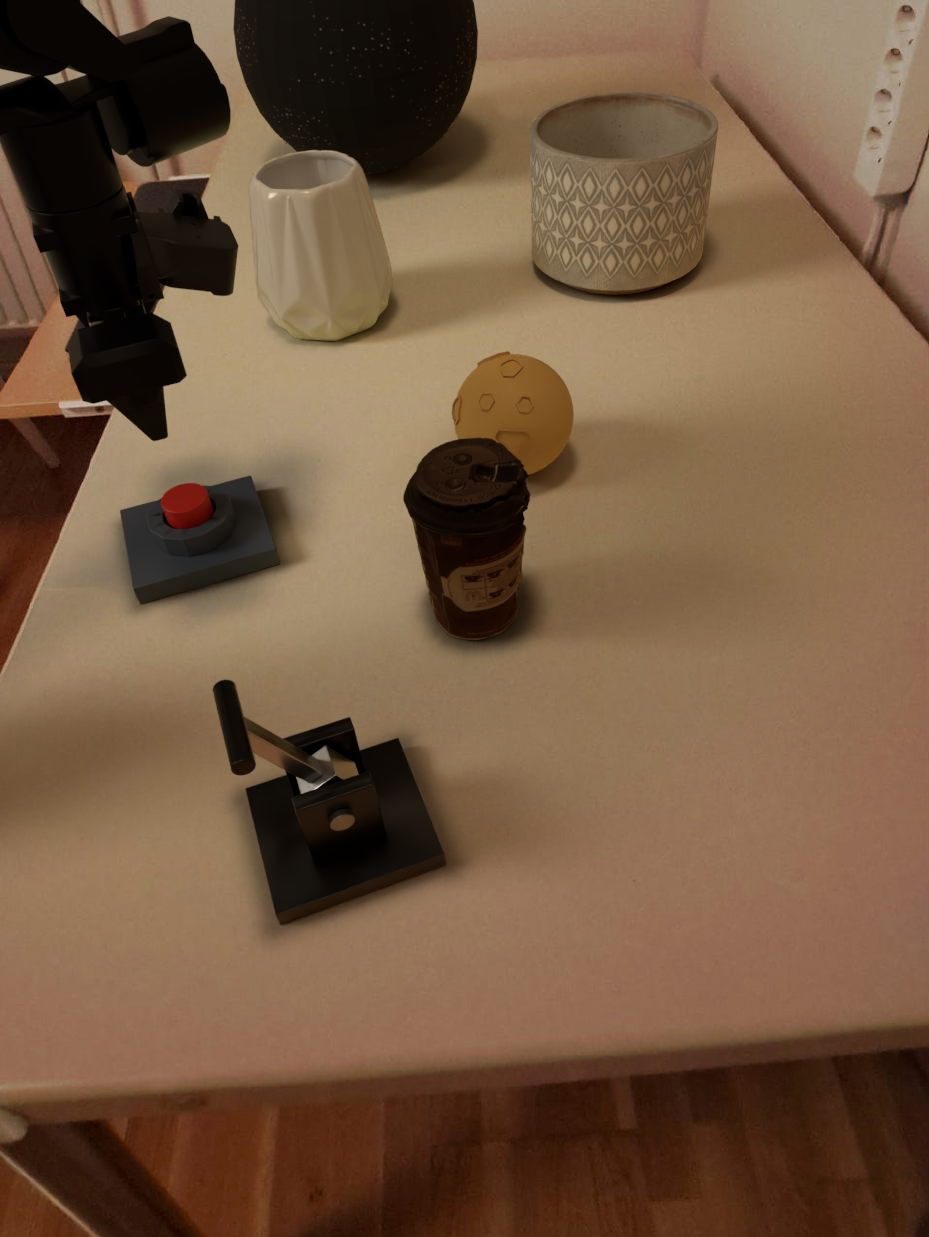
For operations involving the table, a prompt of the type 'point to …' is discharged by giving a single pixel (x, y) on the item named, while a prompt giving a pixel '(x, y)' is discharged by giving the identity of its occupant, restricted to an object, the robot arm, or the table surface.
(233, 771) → the switch lever
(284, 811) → the lever bracket
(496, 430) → the stress ball
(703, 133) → the planter
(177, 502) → the button
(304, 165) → the vase
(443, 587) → the coffee cup
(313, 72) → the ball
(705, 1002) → the table surface
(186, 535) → the button block
